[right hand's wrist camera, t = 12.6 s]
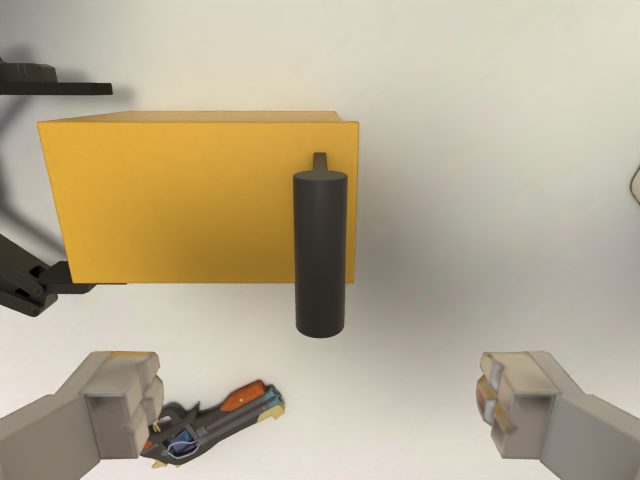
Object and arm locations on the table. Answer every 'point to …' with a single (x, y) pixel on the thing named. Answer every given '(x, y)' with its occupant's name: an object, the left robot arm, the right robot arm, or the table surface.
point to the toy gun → (209, 425)
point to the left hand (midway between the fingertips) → (119, 187)
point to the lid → (211, 205)
